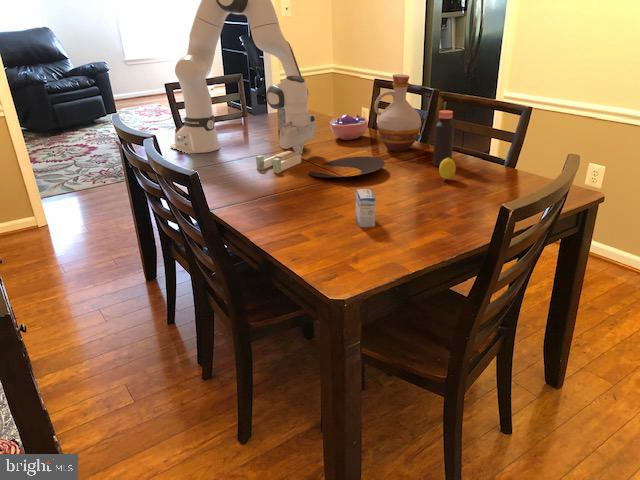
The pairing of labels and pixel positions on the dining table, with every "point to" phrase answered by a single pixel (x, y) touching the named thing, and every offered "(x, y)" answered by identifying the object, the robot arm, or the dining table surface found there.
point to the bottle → (443, 137)
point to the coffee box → (281, 119)
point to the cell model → (349, 126)
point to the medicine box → (365, 208)
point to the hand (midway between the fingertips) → (298, 154)
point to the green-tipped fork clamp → (277, 163)
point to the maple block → (285, 155)
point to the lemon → (447, 168)
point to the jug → (398, 118)
